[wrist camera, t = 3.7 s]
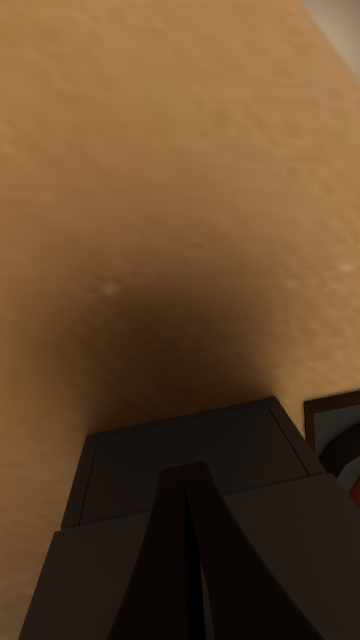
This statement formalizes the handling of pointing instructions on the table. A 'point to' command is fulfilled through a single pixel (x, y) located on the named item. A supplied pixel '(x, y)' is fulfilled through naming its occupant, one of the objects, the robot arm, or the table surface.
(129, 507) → the cooker
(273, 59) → the table surface
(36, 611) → the lid
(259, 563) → the robot arm
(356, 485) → the button
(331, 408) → the switch block
